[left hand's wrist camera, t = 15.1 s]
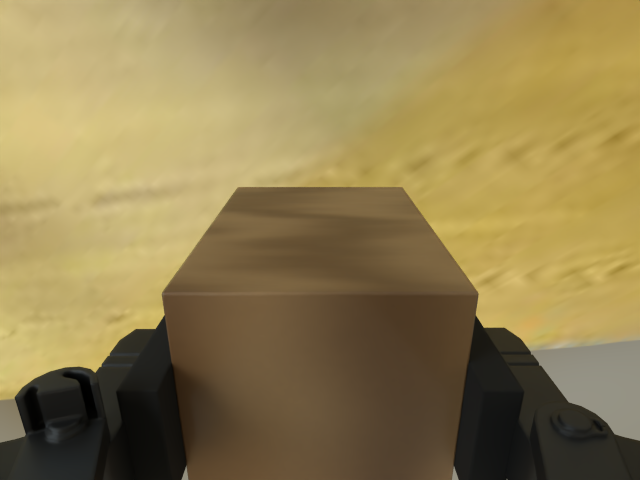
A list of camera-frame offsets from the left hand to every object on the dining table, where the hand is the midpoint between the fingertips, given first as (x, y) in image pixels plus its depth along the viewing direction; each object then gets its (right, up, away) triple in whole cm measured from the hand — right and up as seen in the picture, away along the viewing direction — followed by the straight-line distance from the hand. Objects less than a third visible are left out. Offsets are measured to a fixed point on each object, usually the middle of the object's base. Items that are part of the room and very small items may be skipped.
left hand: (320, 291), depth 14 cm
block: (0, +1, +2) cm, 2 cm away
